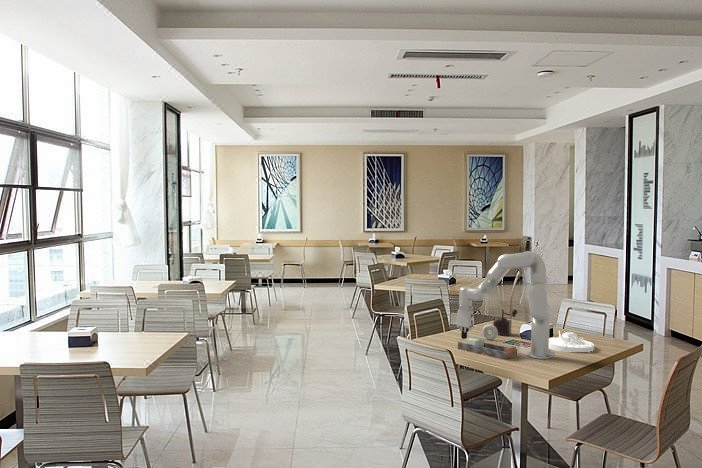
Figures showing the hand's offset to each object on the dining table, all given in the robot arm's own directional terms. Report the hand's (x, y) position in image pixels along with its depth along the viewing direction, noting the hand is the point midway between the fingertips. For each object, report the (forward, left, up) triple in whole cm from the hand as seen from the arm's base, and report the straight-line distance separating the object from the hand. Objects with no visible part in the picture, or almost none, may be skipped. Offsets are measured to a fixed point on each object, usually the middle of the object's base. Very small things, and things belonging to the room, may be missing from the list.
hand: (464, 338), depth 331 cm
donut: (+2, -30, -6) cm, 31 cm away
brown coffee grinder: (+4, -52, -6) cm, 53 cm away
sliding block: (-8, 0, -4) cm, 9 cm away
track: (-16, 0, -6) cm, 17 cm away
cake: (-40, -51, -6) cm, 65 cm away
